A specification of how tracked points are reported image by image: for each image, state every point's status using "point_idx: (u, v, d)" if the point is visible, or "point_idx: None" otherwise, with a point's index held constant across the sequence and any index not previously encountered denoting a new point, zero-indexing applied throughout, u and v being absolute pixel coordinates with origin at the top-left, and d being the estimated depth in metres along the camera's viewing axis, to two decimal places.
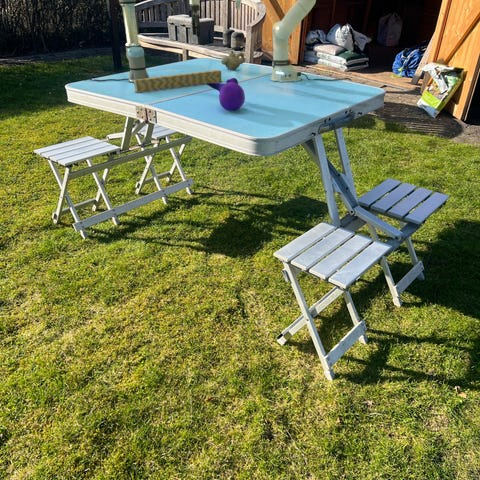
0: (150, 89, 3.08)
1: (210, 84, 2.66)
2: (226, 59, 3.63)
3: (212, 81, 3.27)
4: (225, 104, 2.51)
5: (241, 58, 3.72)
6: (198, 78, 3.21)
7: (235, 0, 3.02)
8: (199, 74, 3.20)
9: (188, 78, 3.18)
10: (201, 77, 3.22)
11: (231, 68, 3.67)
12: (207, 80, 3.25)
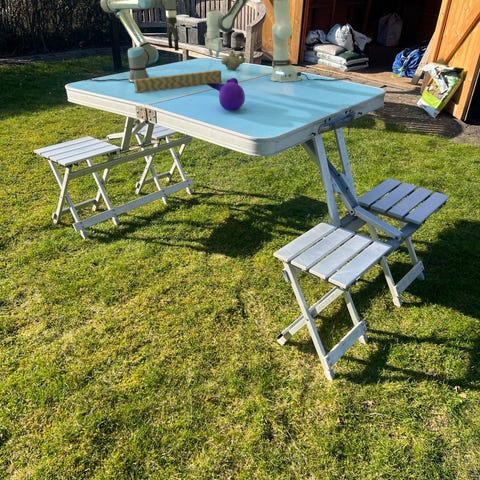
0: (150, 89, 3.08)
1: (210, 84, 2.66)
2: (226, 59, 3.63)
3: (212, 81, 3.27)
4: (225, 104, 2.51)
5: (241, 58, 3.72)
6: (198, 78, 3.21)
7: (214, 49, 3.15)
8: (199, 74, 3.20)
9: (188, 78, 3.18)
10: (201, 77, 3.22)
11: (231, 68, 3.67)
12: (207, 80, 3.25)
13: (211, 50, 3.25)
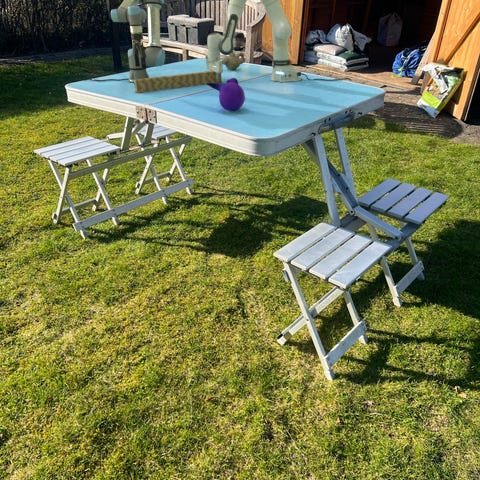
0: (150, 89, 3.08)
1: (210, 84, 2.66)
2: (226, 59, 3.63)
3: (212, 81, 3.27)
4: (225, 104, 2.51)
5: (241, 58, 3.72)
6: (198, 78, 3.21)
7: (215, 70, 3.23)
8: (199, 74, 3.20)
9: (188, 78, 3.18)
10: (201, 77, 3.22)
11: (231, 68, 3.67)
12: (207, 80, 3.25)
13: None
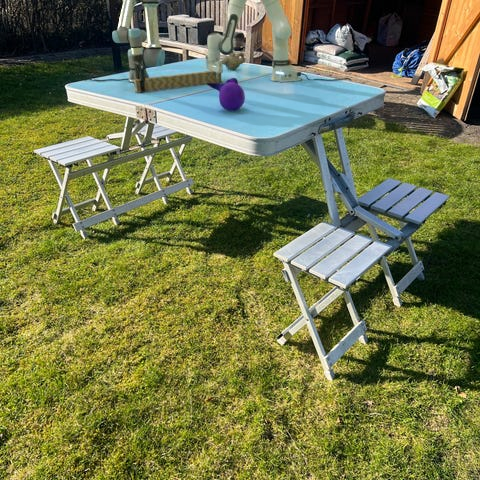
0: (150, 89, 3.08)
1: (210, 84, 2.66)
2: (226, 59, 3.63)
3: (212, 81, 3.27)
4: (225, 104, 2.51)
5: (241, 58, 3.72)
6: (198, 78, 3.21)
7: (215, 70, 3.23)
8: (199, 74, 3.20)
9: (188, 78, 3.18)
10: (201, 77, 3.22)
11: (231, 68, 3.67)
12: (207, 80, 3.25)
13: None
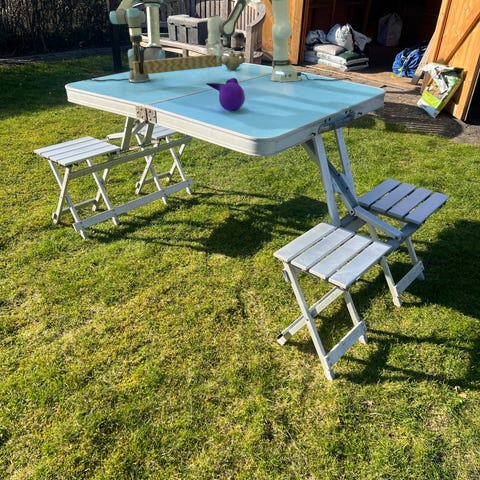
0: (149, 72, 3.01)
1: (210, 84, 2.66)
2: (226, 59, 3.63)
3: (212, 65, 3.21)
4: (225, 104, 2.51)
5: (241, 58, 3.72)
6: (198, 61, 3.14)
7: (215, 54, 3.16)
8: (199, 57, 3.14)
9: (188, 61, 3.11)
10: (201, 60, 3.15)
11: (231, 68, 3.67)
12: (207, 64, 3.18)
13: None
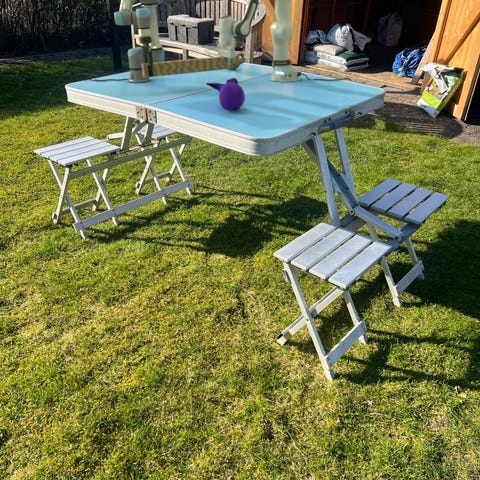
0: (158, 74, 2.91)
1: (210, 84, 2.66)
2: None
3: (223, 67, 3.11)
4: (225, 104, 2.51)
5: (241, 58, 3.72)
6: (208, 63, 3.05)
7: (226, 56, 3.06)
8: (210, 59, 3.04)
9: (198, 63, 3.01)
10: (211, 62, 3.05)
11: None
12: (218, 66, 3.09)
13: None
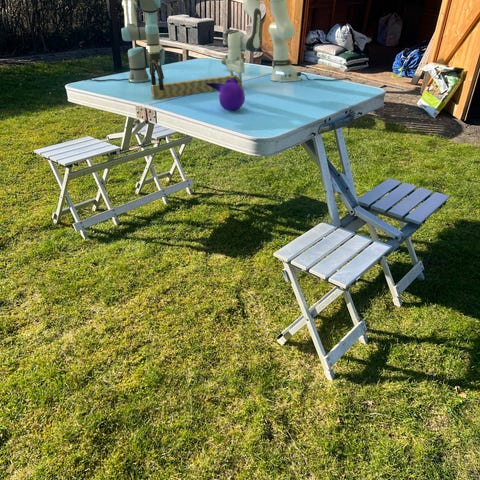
0: (168, 95, 2.90)
1: (210, 84, 2.66)
2: None
3: None
4: (225, 104, 2.51)
5: (241, 58, 3.72)
6: None
7: (235, 70, 3.04)
8: (219, 79, 3.03)
9: None
10: (220, 82, 3.04)
11: None
12: None
13: (232, 71, 3.13)
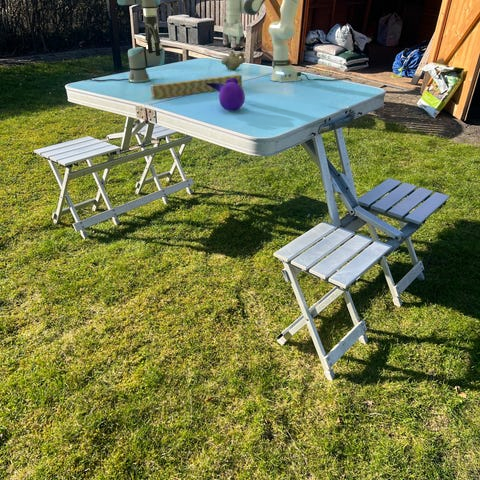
0: (168, 95, 2.90)
1: (210, 84, 2.66)
2: (226, 59, 3.63)
3: None
4: (225, 104, 2.51)
5: (241, 58, 3.72)
6: None
7: (234, 34, 2.92)
8: (219, 79, 3.03)
9: None
10: (220, 82, 3.04)
11: (231, 68, 3.67)
12: None
13: (230, 36, 3.02)
